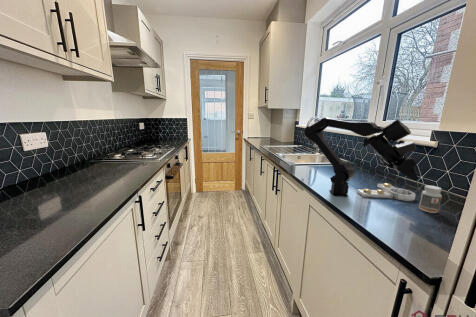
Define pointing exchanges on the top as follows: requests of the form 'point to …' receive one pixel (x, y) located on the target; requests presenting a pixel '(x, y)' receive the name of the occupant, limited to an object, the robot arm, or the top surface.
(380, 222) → the top surface
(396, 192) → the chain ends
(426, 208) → the pill bottle
